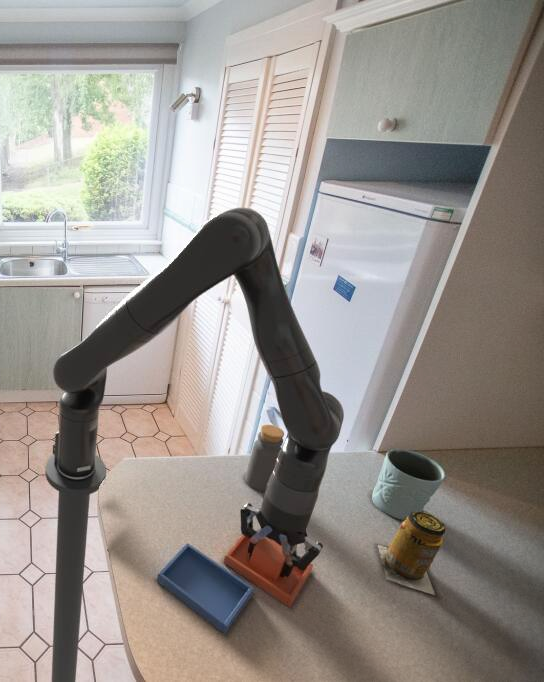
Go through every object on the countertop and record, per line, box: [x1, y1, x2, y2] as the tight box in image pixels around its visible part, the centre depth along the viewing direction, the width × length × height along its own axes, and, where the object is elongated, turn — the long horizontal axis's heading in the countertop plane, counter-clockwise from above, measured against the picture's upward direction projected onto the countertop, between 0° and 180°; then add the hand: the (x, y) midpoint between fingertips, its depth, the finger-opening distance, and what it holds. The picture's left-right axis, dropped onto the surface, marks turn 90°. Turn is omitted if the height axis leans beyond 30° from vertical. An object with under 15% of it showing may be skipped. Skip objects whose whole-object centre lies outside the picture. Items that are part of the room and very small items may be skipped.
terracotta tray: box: [223, 534, 314, 608], centre depth 86 cm, size 12×10×2 cm
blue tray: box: [156, 542, 255, 635], centre depth 82 cm, size 13×10×2 cm
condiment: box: [377, 510, 447, 596], centre depth 84 cm, size 7×8×12 cm
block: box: [249, 537, 285, 582], centre depth 85 cm, size 5×5×5 cm
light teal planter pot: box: [371, 448, 446, 521], centre depth 98 cm, size 10×10×12 cm
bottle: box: [244, 424, 285, 492], centre depth 104 cm, size 6×6×15 cm
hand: (267, 564), depth 86 cm, fingers closed on block, 5 cm apart
